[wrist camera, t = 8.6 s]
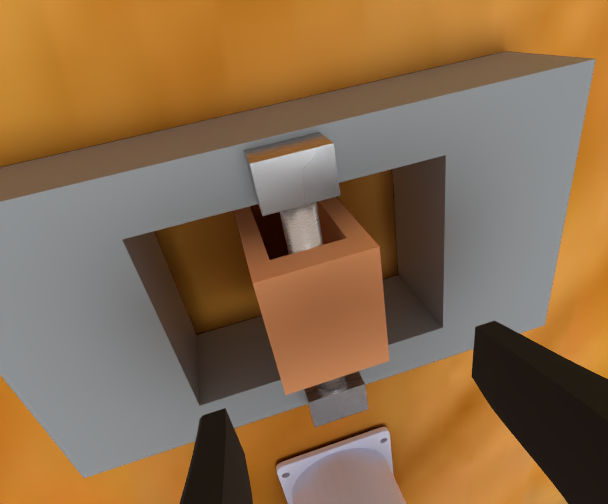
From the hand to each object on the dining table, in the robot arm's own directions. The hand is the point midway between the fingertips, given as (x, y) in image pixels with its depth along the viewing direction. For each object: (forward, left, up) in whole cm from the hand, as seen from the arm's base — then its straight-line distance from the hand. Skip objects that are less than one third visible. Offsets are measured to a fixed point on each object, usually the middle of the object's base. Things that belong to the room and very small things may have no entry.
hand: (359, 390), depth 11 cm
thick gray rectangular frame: (0, 0, -9) cm, 9 cm away
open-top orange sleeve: (0, 0, -9) cm, 9 cm away
